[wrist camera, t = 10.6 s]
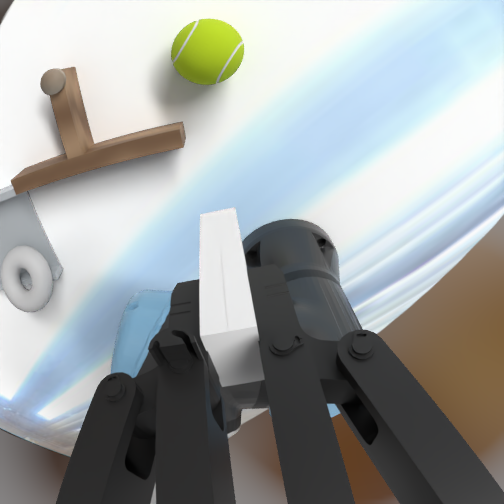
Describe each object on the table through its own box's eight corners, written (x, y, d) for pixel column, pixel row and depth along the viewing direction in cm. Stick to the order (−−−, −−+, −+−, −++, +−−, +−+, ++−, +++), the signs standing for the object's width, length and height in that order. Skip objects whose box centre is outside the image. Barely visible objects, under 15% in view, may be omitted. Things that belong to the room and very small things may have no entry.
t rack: (185, 137, 34) (182, 149, 31) (29, 181, 34) (13, 197, 30) (166, 35, 27) (160, 32, 23) (3, 96, 26) (-18, 105, 23)
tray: (63, 268, 42) (58, 279, 40) (-1, 281, 42) (-6, 291, 40) (23, 180, 33) (14, 188, 31) (-39, 207, 33) (-48, 215, 31)
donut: (51, 264, 36) (39, 327, 37) (63, 260, 39) (50, 319, 41) (2, 236, 35) (-7, 296, 36) (15, 233, 38) (5, 290, 40)
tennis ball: (163, 66, 29) (153, 68, 24) (195, 13, 26) (192, 2, 20) (219, 92, 32) (222, 100, 26) (252, 40, 29) (262, 37, 23)
